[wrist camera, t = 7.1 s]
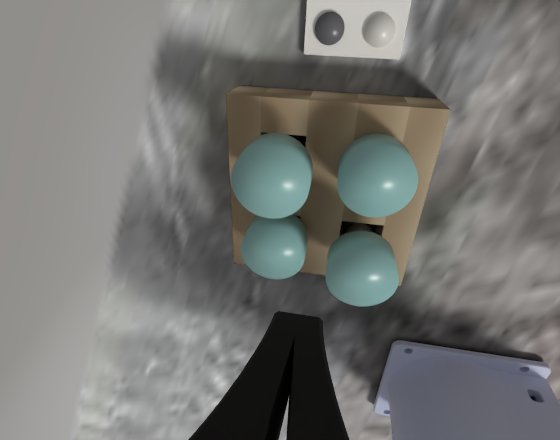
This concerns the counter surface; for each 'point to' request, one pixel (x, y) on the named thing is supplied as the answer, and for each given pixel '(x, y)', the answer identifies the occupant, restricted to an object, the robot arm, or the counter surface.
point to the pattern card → (356, 28)
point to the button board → (336, 157)
